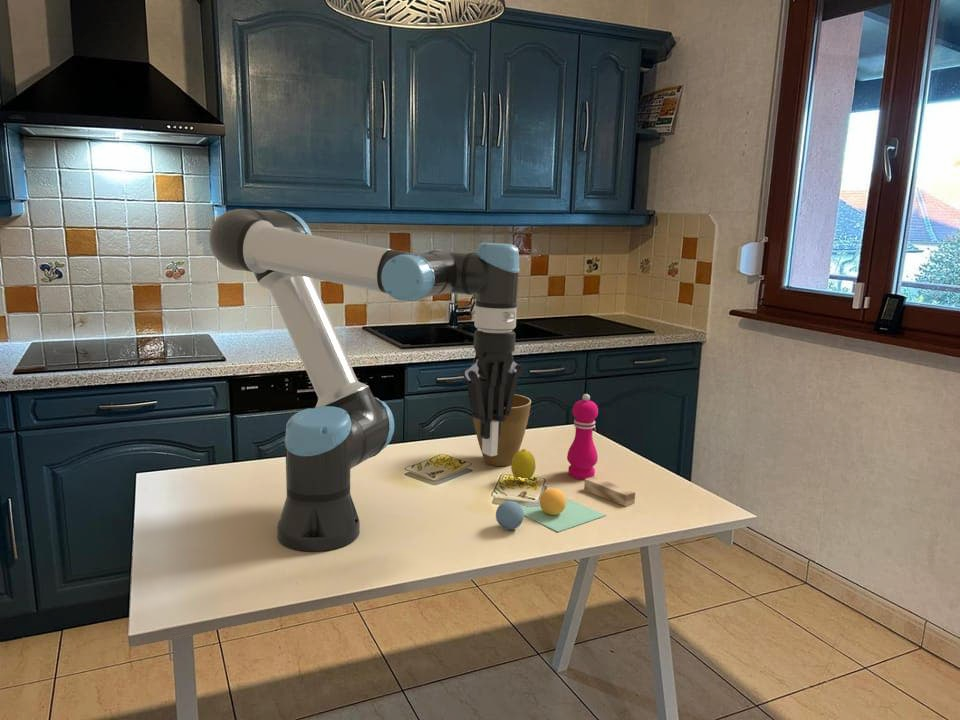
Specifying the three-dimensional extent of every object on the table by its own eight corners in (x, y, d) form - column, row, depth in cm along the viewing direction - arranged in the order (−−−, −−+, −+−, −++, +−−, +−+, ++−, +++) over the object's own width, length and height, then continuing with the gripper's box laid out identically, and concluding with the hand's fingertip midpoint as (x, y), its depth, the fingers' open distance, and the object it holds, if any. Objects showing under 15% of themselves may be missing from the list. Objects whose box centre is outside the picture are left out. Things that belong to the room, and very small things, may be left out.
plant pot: (507, 449, 192) (510, 390, 188) (539, 466, 179) (543, 403, 176) (458, 456, 184) (459, 395, 181) (488, 475, 172) (490, 410, 168)
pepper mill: (570, 468, 179) (575, 389, 175) (599, 472, 176) (604, 392, 172) (562, 477, 172) (567, 395, 168) (592, 482, 169) (598, 399, 166)
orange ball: (546, 479, 151) (559, 491, 154) (529, 499, 150) (542, 512, 153) (563, 490, 146) (575, 503, 150) (545, 512, 145) (559, 524, 149)
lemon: (532, 487, 165) (534, 453, 163) (508, 484, 166) (510, 451, 164) (535, 479, 170) (537, 446, 169) (512, 476, 171) (514, 444, 170)
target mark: (557, 532, 141) (558, 531, 141) (510, 509, 152) (510, 508, 152) (605, 516, 150) (605, 515, 150) (557, 494, 161) (557, 494, 161)
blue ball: (512, 492, 145) (516, 515, 146) (488, 503, 142) (493, 526, 144) (526, 503, 140) (531, 527, 142) (502, 514, 138) (507, 538, 140)
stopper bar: (634, 503, 157) (635, 492, 157) (625, 506, 156) (626, 495, 155) (593, 486, 167) (593, 476, 166) (584, 489, 165) (584, 478, 164)
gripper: (480, 335, 125) (475, 466, 129) (535, 330, 133) (528, 453, 137) (453, 328, 130) (449, 454, 135) (508, 324, 138) (502, 442, 143)
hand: (489, 453), depth 136 cm, fingers closed
